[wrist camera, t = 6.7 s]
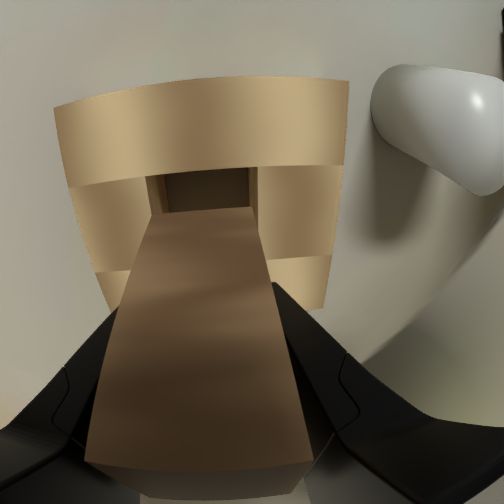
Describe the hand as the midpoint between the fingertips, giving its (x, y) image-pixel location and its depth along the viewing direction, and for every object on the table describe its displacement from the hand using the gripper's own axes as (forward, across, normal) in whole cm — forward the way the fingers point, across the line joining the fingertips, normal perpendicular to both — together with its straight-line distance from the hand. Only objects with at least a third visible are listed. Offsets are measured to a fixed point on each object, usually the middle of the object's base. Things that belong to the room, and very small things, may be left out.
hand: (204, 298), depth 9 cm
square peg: (+2, 0, 0) cm, 3 cm away
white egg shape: (+9, -12, -5) cm, 16 cm away
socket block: (+9, 0, 0) cm, 9 cm away
